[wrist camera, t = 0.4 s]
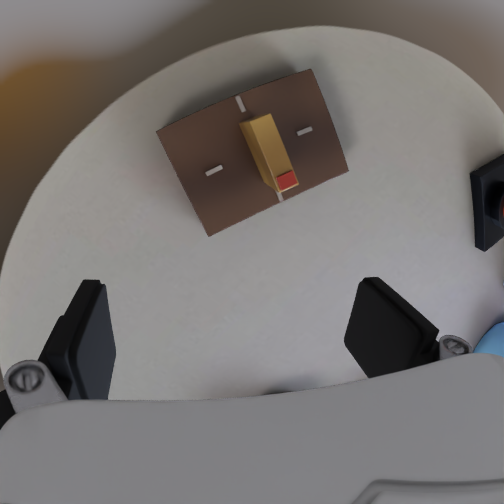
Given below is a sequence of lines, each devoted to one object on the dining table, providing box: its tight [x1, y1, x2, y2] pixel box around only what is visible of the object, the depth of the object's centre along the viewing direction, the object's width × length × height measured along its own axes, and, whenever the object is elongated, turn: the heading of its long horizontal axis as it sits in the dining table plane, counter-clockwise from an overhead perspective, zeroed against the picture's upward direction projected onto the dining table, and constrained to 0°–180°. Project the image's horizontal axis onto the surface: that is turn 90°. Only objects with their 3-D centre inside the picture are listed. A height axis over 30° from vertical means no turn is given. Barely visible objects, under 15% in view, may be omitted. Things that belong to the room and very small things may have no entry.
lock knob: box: [239, 113, 299, 193], centre depth 23 cm, size 6×2×5 cm, turn 23°
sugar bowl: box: [473, 322, 504, 358], centre depth 46 cm, size 15×15×12 cm
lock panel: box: [156, 69, 349, 237], centre depth 26 cm, size 10×14×3 cm
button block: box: [470, 154, 504, 252], centre depth 35 cm, size 12×10×4 cm
